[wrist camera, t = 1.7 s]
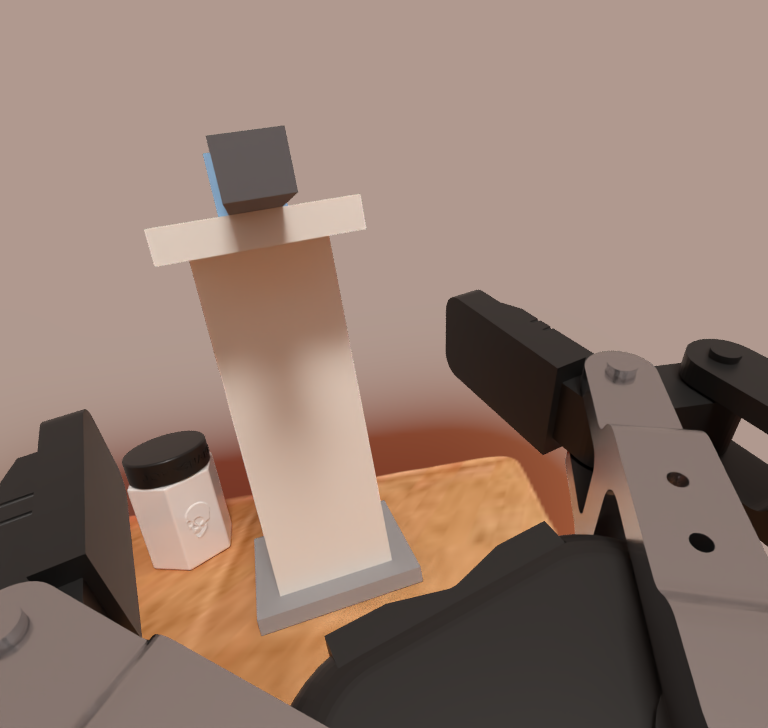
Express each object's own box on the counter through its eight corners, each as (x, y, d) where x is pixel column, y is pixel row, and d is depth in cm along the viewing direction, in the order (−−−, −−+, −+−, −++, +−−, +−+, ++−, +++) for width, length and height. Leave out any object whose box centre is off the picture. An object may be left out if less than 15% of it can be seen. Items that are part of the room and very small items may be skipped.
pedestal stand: (449, 630, 38) (376, 191, 30) (264, 698, 35) (123, 232, 27) (386, 512, 55) (328, 210, 47) (257, 551, 52) (170, 236, 44)
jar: (170, 585, 49) (132, 476, 46) (141, 555, 55) (106, 457, 52) (250, 536, 55) (222, 436, 52) (216, 514, 61) (189, 423, 58)
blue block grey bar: (314, 189, 21) (293, 81, 20) (204, 207, 20) (175, 95, 19) (282, 213, 38) (270, 156, 36) (222, 223, 37) (208, 165, 36)
